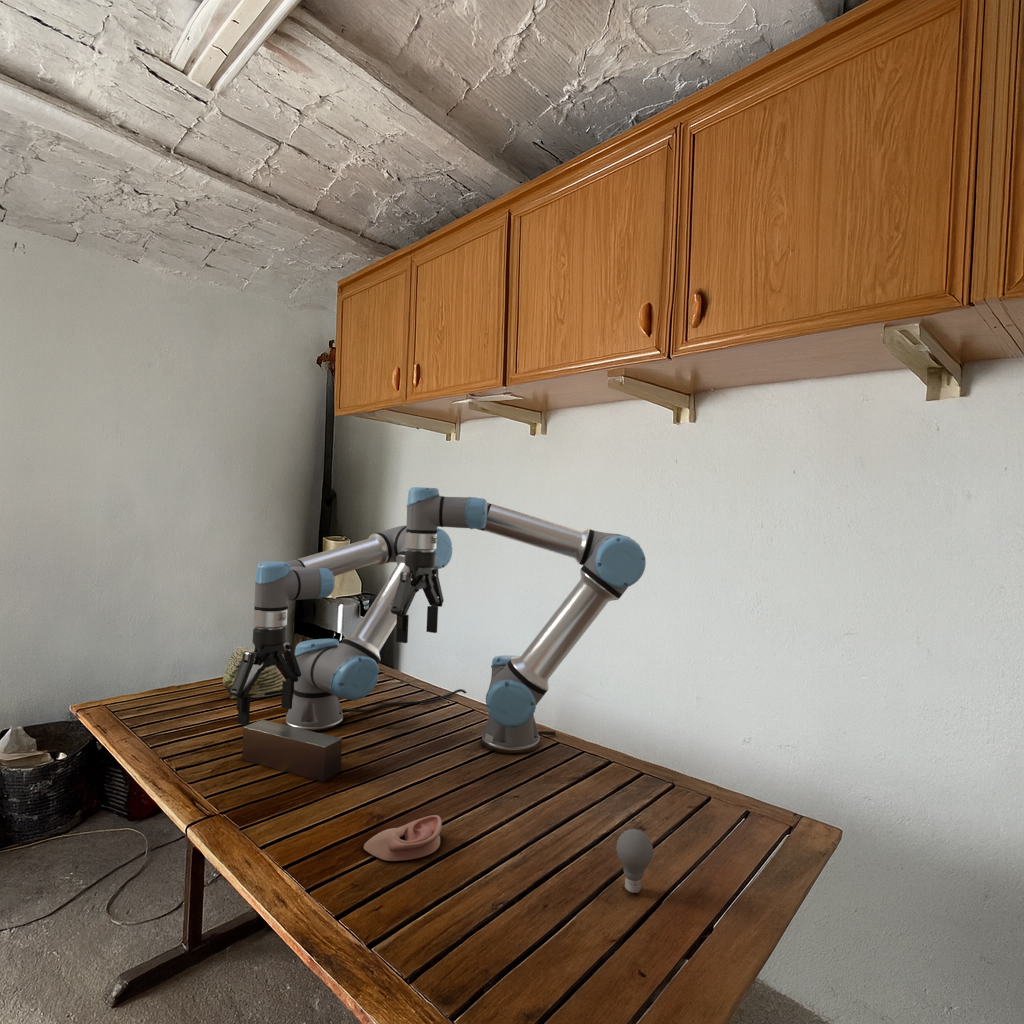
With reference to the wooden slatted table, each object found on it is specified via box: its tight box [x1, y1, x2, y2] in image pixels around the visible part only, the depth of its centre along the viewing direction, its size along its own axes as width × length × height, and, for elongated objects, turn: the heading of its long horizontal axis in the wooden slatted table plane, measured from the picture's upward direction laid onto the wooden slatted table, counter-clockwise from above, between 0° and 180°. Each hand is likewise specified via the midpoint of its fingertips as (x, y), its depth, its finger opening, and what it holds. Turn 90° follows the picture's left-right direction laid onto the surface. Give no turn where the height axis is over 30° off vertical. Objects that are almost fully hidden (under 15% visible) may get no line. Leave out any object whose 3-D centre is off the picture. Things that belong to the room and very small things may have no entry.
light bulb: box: [615, 828, 654, 894], centre depth 106 cm, size 6×6×10 cm
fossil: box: [222, 646, 287, 699], centre depth 198 cm, size 9×18×15 cm, turn 132°
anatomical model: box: [363, 814, 443, 862], centre depth 116 cm, size 13×4×12 cm
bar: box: [241, 719, 343, 783], centre depth 148 cm, size 24×6×8 cm, turn 66°
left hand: (265, 715), depth 151 cm, fingers open, 13 cm apart
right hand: (417, 637), depth 155 cm, fingers open, 13 cm apart
